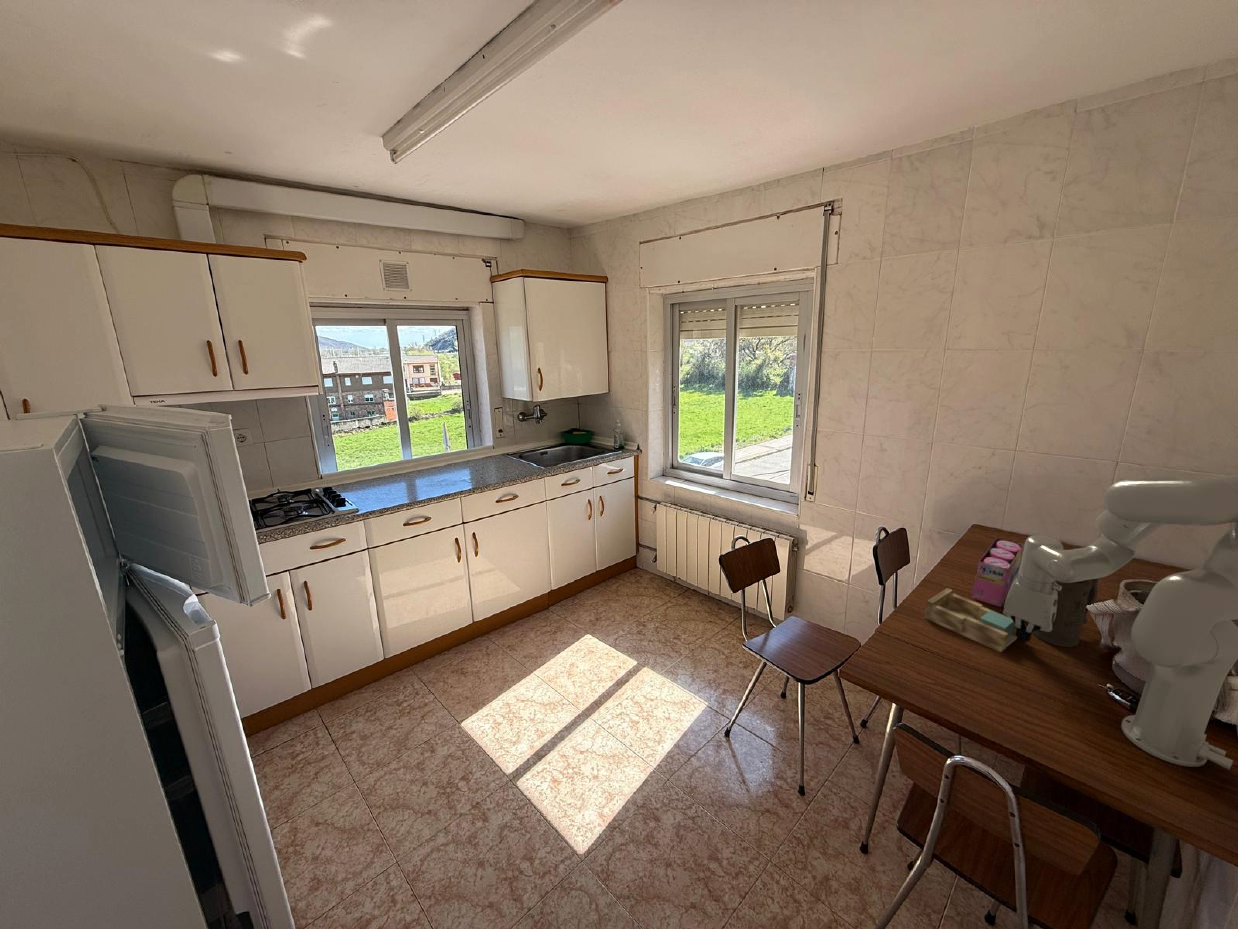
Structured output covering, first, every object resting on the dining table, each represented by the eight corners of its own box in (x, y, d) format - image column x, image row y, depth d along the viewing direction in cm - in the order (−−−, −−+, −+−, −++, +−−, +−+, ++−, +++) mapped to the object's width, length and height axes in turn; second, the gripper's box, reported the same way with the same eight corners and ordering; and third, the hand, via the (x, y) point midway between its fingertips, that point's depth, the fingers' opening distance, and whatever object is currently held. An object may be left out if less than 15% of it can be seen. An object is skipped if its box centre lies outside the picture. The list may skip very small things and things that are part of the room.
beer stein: (1058, 651, 134) (1078, 585, 129) (1018, 628, 144) (1035, 566, 139) (1098, 642, 138) (1119, 578, 133) (1056, 621, 148) (1074, 560, 143)
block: (1011, 634, 140) (1014, 620, 139) (1002, 643, 137) (1005, 628, 136) (987, 624, 145) (990, 610, 144) (977, 632, 142) (980, 617, 141)
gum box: (990, 571, 175) (997, 536, 171) (1018, 578, 170) (1026, 543, 166) (971, 598, 160) (978, 560, 156) (1001, 607, 155) (1009, 569, 151)
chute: (1019, 636, 141) (1023, 618, 140) (1000, 652, 135) (1004, 633, 133) (944, 604, 158) (947, 587, 156) (924, 617, 151) (927, 600, 150)
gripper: (1077, 589, 126) (1061, 650, 131) (1008, 566, 138) (996, 622, 144) (1066, 599, 122) (1050, 661, 128) (996, 574, 134) (984, 632, 140)
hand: (1022, 640), depth 136 cm, fingers closed
